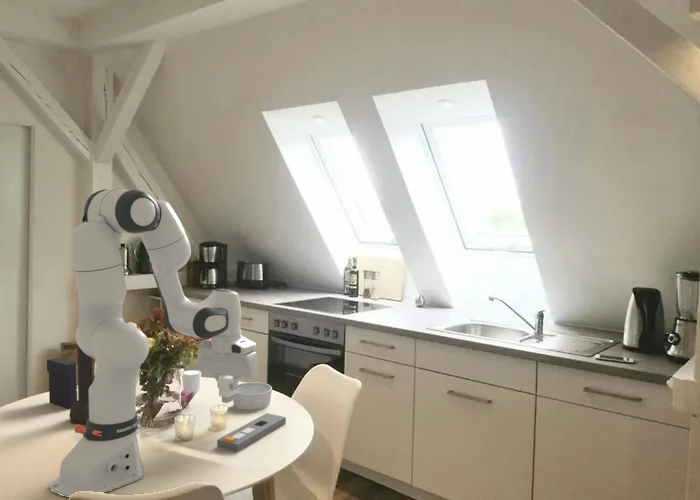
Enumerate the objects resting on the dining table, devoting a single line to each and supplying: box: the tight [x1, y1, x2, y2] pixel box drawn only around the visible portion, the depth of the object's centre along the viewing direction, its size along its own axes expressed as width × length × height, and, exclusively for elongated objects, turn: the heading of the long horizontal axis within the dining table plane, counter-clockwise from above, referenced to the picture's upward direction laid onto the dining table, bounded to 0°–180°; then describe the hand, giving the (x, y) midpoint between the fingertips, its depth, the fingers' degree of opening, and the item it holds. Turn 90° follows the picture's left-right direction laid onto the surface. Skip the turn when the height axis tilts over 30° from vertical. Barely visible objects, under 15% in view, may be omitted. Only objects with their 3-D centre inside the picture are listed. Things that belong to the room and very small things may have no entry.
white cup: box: [181, 369, 202, 394], centre depth 223 cm, size 7×7×7 cm
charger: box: [218, 375, 237, 404], centre depth 185 cm, size 4×3×7 cm
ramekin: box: [232, 381, 273, 411], centre depth 206 cm, size 13×13×7 cm
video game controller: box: [180, 390, 196, 409], centre depth 205 cm, size 10×5×7 cm, turn 169°
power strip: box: [216, 413, 287, 453], centre depth 180 cm, size 24×7×4 cm, turn 154°
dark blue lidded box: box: [46, 357, 78, 410], centre depth 206 cm, size 11×4×15 cm, turn 58°
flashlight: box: [69, 343, 95, 426], centre depth 192 cm, size 10×25×10 cm
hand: (227, 388), depth 185 cm, fingers closed on charger, 3 cm apart
